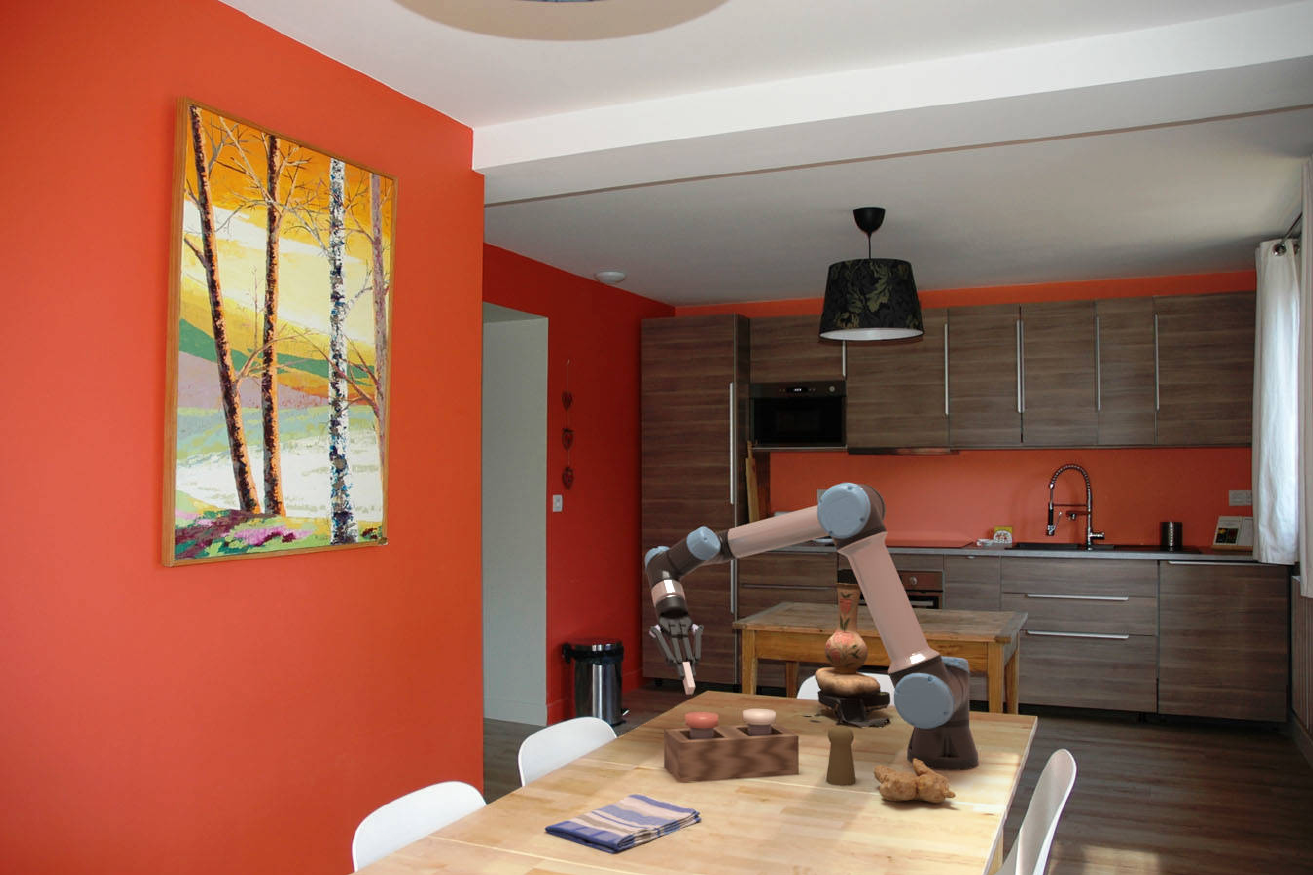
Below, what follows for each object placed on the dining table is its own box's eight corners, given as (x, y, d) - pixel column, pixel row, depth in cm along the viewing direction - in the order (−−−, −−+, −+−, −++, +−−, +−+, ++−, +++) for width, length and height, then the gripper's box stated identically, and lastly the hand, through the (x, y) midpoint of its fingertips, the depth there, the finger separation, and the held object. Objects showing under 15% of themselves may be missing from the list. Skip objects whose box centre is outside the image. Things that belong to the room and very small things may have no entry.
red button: (712, 743, 220) (712, 710, 220) (722, 751, 213) (722, 717, 214) (680, 745, 218) (681, 712, 219) (690, 753, 211) (690, 719, 212)
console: (776, 759, 226) (776, 723, 227) (798, 774, 215) (798, 735, 215) (664, 767, 220) (664, 729, 220) (680, 782, 208) (680, 742, 208)
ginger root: (955, 809, 187) (944, 765, 189) (870, 821, 192) (860, 777, 194) (962, 790, 202) (951, 748, 203) (882, 801, 207) (873, 760, 208)
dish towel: (704, 823, 184) (704, 808, 184) (615, 859, 166) (616, 841, 166) (632, 804, 195) (632, 789, 195) (542, 835, 177) (542, 819, 177)
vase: (906, 714, 274) (905, 583, 276) (877, 730, 255) (877, 589, 257) (824, 704, 287) (824, 578, 288) (791, 718, 268) (791, 584, 270)
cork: (855, 786, 206) (855, 731, 207) (825, 784, 207) (825, 729, 208) (856, 778, 212) (855, 724, 213) (826, 776, 213) (826, 723, 214)
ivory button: (768, 740, 224) (768, 707, 224) (780, 747, 217) (780, 714, 217) (738, 742, 222) (738, 709, 222) (749, 749, 215) (749, 716, 215)
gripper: (693, 614, 243) (715, 699, 226) (640, 615, 239) (658, 701, 222) (700, 593, 238) (723, 679, 221) (646, 594, 234) (665, 681, 218)
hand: (690, 690), depth 222 cm, fingers closed
